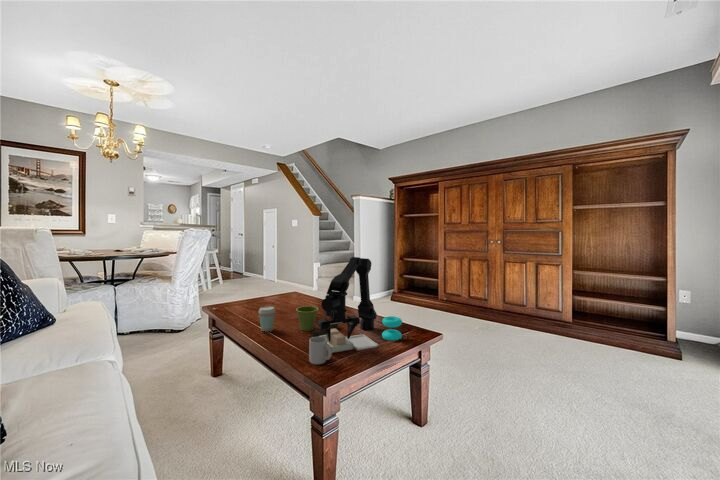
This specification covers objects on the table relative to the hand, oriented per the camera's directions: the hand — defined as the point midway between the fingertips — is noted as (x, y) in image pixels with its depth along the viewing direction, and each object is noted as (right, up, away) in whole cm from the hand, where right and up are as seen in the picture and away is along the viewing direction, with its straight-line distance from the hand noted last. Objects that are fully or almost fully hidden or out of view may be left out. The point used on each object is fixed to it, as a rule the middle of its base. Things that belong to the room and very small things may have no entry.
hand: (338, 340), depth 138 cm
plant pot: (-19, -3, +27) cm, 33 cm away
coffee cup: (-40, -3, +24) cm, 47 cm away
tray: (+10, -4, +7) cm, 13 cm away
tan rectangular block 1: (-3, -3, +7) cm, 9 cm away
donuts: (+26, -4, +15) cm, 30 cm away
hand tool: (-8, -4, +22) cm, 23 cm away
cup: (-6, -5, -13) cm, 15 cm away
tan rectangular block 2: (0, -3, 0) cm, 3 cm away
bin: (-2, -4, +4) cm, 6 cm away
